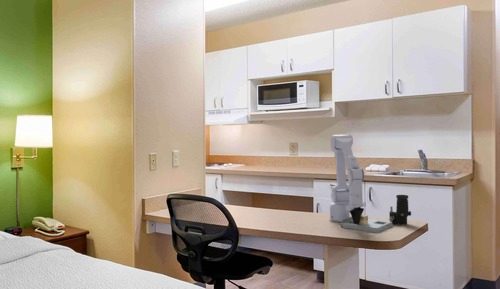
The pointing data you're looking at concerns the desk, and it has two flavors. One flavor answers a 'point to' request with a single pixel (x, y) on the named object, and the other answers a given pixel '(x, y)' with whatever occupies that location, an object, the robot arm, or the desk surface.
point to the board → (371, 226)
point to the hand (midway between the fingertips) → (356, 224)
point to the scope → (400, 211)
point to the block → (363, 220)
